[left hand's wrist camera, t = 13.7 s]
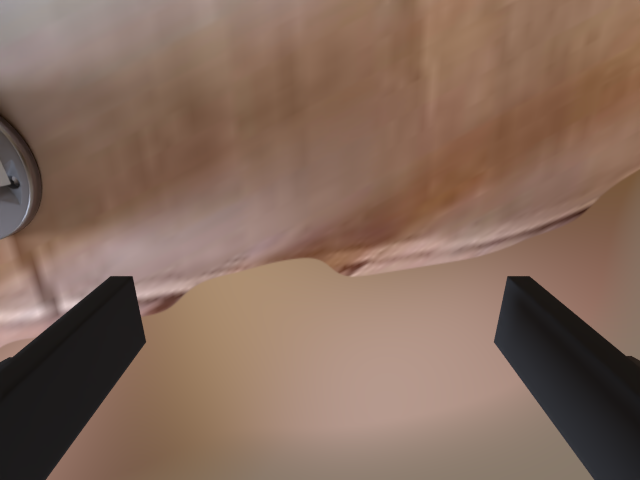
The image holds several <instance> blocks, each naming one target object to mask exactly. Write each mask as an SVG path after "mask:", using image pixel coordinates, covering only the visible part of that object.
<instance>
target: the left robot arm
mask: <svg viewBox="0 0 640 480" xmlns="http://www.w3.org/2000/svg"><path fill="white" fill-rule="evenodd" d="M41 193H42V186H41V178H40V173H39V170H38V166H37V164H36V161H35V159H34V156H33V155H32V153H31V151H30V149H29V147H28V146H27V144H26V143H25V141H24V140H23V138H22V137H21V136H20V135H19V133H18V132H17V131H16V130H15V129H14V128H13V127H12V126H11V125H10V124H9V123H8V122H7V121H6V120H5V119H3V118H2V117H1V116H0V239H3V238H5V237H7V236H10V235H12V234H14V233H16V232H18V231H20V230H22V229H23V228H24V227H26V226H27V225H28V224H29V223H30V222H31V221H32V219H33V218H34V216H35V215H36V213H37V211H38V208H39V205H40V201H41ZM145 343H146V340H145V335H144V330H143V325H142V320H141V315H140V310H139V306H138V301H137V296H136V291H135V286H134V281H133V276H110V277H109V278H108V279H107V280H106V281H104V282H103V283H102V284H101V285H99V286H98V287H97V288H96V289H95V290H93V291H92V292H91V293H90V294H89V295H87V296H86V297H85V298H84V299H83V300H81V301H80V302H79V303H78V304H76V305H75V306H74V307H73V308H72V309H70V310H69V311H68V312H67V313H66V314H64V315H63V316H62V317H61V318H60V319H58V320H57V321H56V322H55V323H53V324H52V325H51V326H50V327H49V328H47V329H46V330H45V331H44V332H43V333H41V334H40V335H39V336H38V337H37V338H35V339H34V340H33V341H32V342H30V343H29V344H28V345H27V346H26V347H24V348H23V349H22V350H21V351H20V352H18V353H17V354H16V355H15V356H14V357H9V358H7V359H5V360H3V361H2V362H0V480H46V479H47V477H48V476H49V474H50V473H51V472H52V470H53V469H54V468H55V466H56V465H57V463H58V462H59V461H60V459H61V458H62V457H63V455H64V454H65V452H66V451H67V450H68V448H69V447H70V445H71V444H72V443H73V441H74V440H75V439H76V437H77V436H78V435H79V433H80V432H81V431H82V429H83V428H84V426H85V425H86V424H87V422H88V421H89V420H90V418H91V417H92V415H93V414H94V413H95V411H96V410H97V409H98V407H99V406H100V404H101V403H102V402H103V400H104V399H105V398H106V396H107V395H108V393H109V392H110V391H111V389H112V388H113V387H114V385H115V384H116V382H117V381H118V380H119V378H120V377H121V376H122V374H123V373H124V372H125V370H126V369H127V367H128V366H129V365H130V363H131V362H132V360H133V359H134V358H135V356H136V355H137V354H138V352H139V351H140V350H141V348H142V347H143V345H144V344H145ZM494 343H495V344H496V345H497V347H498V348H499V350H500V351H501V352H502V354H503V355H504V356H505V358H506V359H507V360H508V362H509V363H510V365H511V366H512V367H513V369H514V370H515V372H516V373H517V374H518V376H519V377H520V378H521V380H522V381H523V383H524V384H525V385H526V387H527V388H528V389H529V391H530V392H531V394H532V395H533V396H534V398H535V399H536V400H537V402H538V403H539V404H540V406H541V407H542V409H543V410H544V411H545V413H546V414H547V415H548V417H549V418H550V420H551V421H552V422H553V424H554V425H555V426H556V428H557V429H558V430H559V432H560V433H561V435H562V436H563V437H564V439H565V440H566V442H567V443H568V444H569V446H570V447H571V448H572V450H573V451H574V452H575V454H576V455H577V457H578V458H579V459H580V461H581V462H582V463H583V465H584V466H585V468H586V469H587V470H588V472H589V473H590V474H591V476H592V477H593V479H594V480H640V361H639V360H638V359H636V358H634V357H632V356H625V355H624V354H623V353H622V352H620V351H619V350H618V349H617V348H616V347H614V346H613V345H612V344H611V343H610V342H608V341H607V340H606V339H605V338H603V337H602V336H601V335H600V334H599V333H597V332H596V331H595V330H594V329H593V328H591V327H590V326H589V325H588V324H586V323H585V322H584V321H583V320H582V319H580V318H579V317H578V316H577V315H576V314H574V313H573V312H572V311H571V310H570V309H568V308H567V307H566V306H565V305H564V304H562V303H561V302H560V301H559V300H557V299H556V298H555V297H554V296H553V295H551V294H550V293H549V292H548V291H547V290H545V289H544V288H543V287H542V286H541V285H539V284H538V283H537V282H536V281H534V280H533V279H532V278H531V277H530V276H508V277H507V281H506V286H505V291H504V296H503V301H502V306H501V311H500V315H499V320H498V325H497V330H496V335H495V339H494Z"/></svg>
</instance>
